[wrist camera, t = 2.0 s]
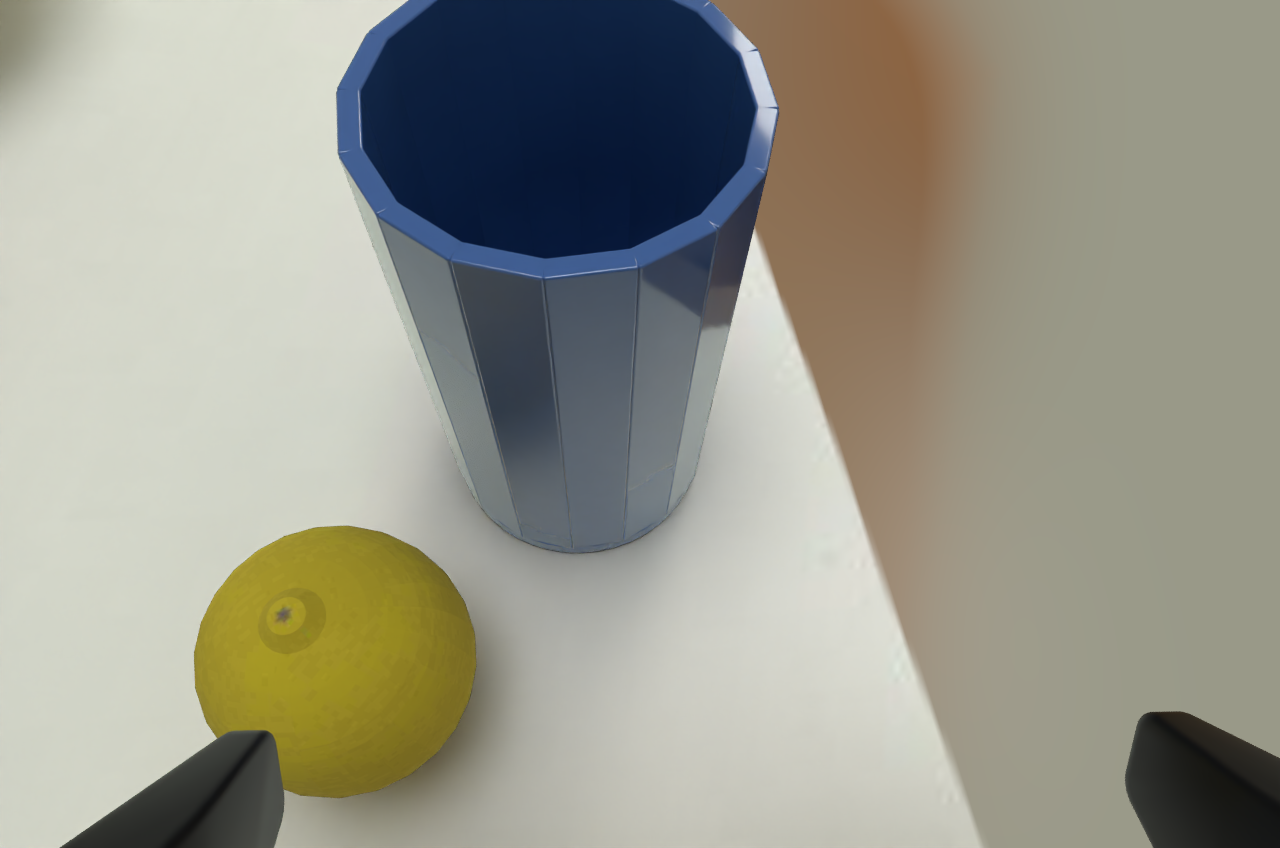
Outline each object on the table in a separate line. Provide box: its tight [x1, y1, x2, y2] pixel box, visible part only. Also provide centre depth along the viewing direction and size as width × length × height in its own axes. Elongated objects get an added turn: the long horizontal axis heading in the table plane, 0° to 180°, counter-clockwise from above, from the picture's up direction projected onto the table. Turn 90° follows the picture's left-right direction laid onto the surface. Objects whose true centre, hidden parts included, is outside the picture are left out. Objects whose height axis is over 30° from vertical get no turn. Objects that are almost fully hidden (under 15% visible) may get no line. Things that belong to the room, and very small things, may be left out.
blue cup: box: [336, 0, 779, 553], centre depth 20 cm, size 7×7×13 cm
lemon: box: [194, 526, 476, 798], centre depth 19 cm, size 6×6×8 cm
